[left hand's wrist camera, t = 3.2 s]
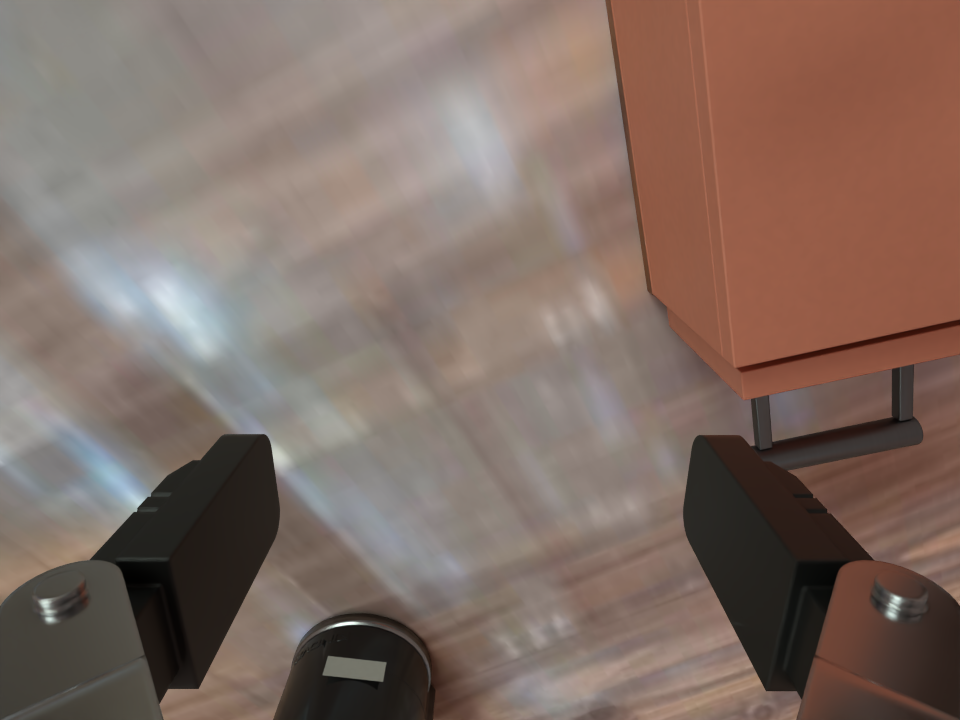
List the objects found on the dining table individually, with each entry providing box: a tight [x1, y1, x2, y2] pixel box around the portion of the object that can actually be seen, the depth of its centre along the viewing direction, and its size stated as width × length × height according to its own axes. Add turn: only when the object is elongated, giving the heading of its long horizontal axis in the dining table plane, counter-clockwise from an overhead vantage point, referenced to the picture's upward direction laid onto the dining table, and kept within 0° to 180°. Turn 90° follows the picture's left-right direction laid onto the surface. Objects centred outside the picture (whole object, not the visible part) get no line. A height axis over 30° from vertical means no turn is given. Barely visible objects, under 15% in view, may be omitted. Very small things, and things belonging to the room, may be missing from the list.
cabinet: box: [606, 0, 960, 368], centre depth 22 cm, size 20×12×11 cm, turn 14°
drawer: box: [667, 307, 960, 471], centre depth 24 cm, size 24×10×9 cm, turn 14°
